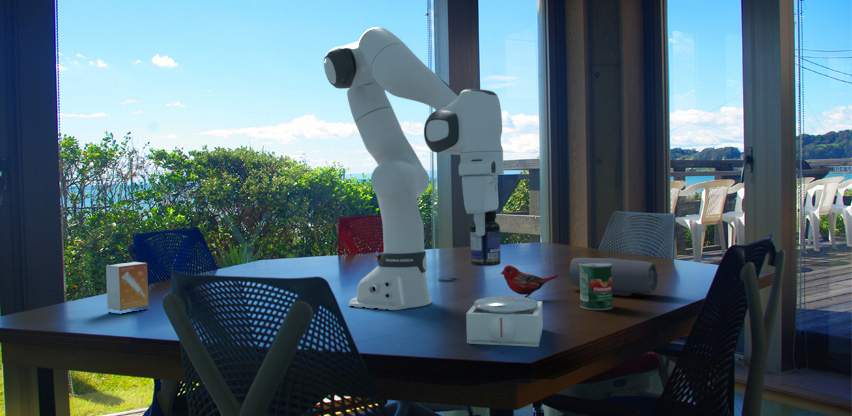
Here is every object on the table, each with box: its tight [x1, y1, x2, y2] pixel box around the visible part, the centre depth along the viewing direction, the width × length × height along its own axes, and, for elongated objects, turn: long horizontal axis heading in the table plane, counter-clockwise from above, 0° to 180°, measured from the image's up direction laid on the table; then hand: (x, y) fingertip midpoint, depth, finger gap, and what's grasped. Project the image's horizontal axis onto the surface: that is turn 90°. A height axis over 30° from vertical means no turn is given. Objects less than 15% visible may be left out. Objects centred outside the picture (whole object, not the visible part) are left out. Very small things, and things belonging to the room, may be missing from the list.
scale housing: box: [465, 300, 544, 348], centre depth 115 cm, size 14×15×6 cm
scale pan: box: [473, 295, 538, 314], centre depth 115 cm, size 13×13×4 cm
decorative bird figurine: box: [500, 264, 559, 299], centre depth 151 cm, size 3×18×10 cm, turn 107°
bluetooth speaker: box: [568, 257, 659, 297], centre depth 157 cm, size 23×9×10 cm, turn 50°
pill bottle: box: [469, 210, 501, 267], centre depth 115 cm, size 6×6×11 cm
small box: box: [105, 261, 149, 311], centre depth 151 cm, size 8×6×13 cm
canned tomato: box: [579, 262, 614, 311], centre depth 140 cm, size 8×8×11 cm
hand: (484, 233), depth 115 cm, fingers closed on pill bottle, 6 cm apart
